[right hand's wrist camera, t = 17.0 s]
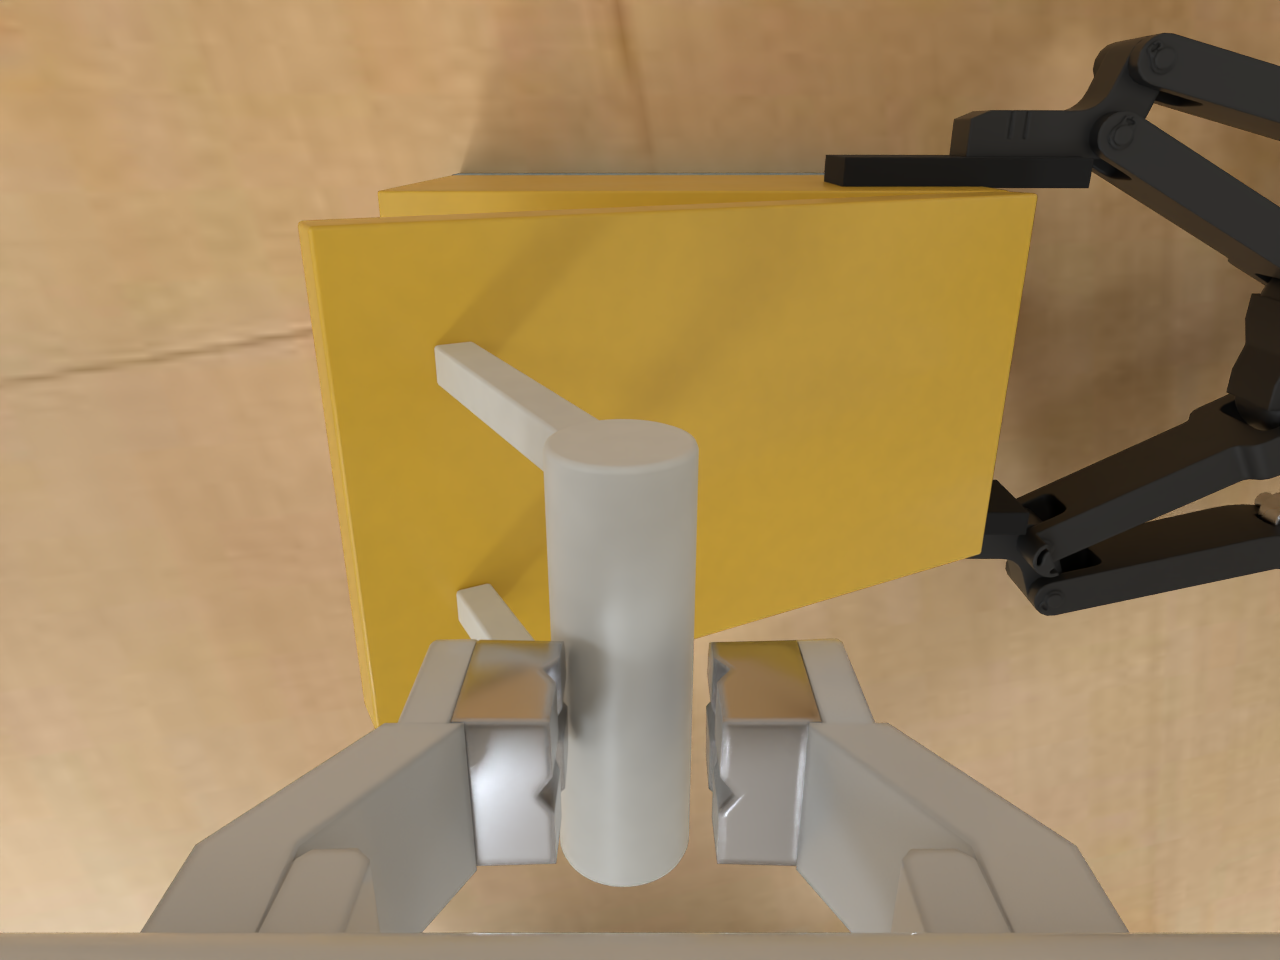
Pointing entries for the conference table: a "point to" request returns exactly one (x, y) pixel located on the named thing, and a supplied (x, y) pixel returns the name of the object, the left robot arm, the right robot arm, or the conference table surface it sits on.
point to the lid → (652, 444)
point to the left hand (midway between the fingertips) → (819, 350)
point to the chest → (617, 191)
